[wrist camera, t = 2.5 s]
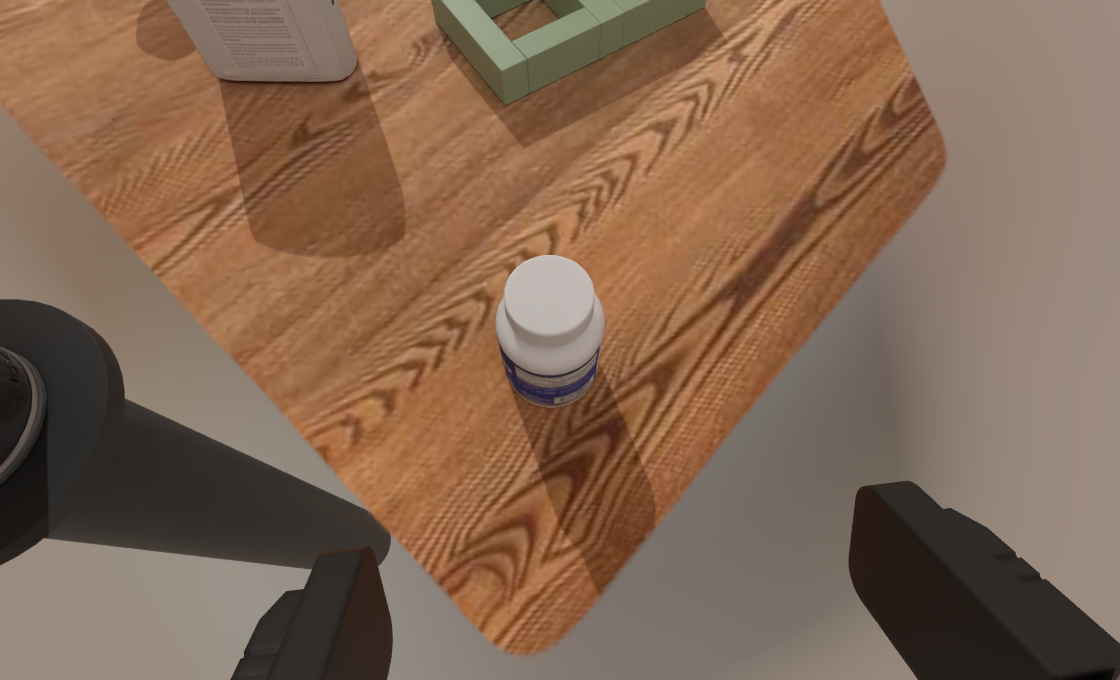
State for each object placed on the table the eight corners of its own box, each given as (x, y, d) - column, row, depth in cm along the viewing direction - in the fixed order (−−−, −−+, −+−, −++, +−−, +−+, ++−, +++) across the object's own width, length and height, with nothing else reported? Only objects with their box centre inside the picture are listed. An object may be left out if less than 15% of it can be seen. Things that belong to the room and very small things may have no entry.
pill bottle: (511, 320, 35) (496, 235, 27) (600, 327, 35) (613, 244, 27) (499, 406, 33) (481, 343, 25) (594, 414, 33) (606, 353, 25)
